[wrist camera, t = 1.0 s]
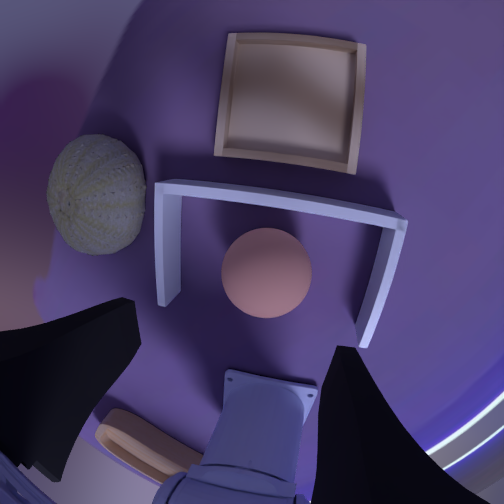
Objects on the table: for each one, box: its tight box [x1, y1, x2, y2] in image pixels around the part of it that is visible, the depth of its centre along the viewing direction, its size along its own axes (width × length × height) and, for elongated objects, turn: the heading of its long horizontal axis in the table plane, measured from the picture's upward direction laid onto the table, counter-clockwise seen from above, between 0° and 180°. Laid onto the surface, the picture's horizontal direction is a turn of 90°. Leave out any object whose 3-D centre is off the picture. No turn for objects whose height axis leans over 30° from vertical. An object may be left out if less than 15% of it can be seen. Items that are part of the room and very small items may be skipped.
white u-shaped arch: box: [154, 179, 408, 348], centre depth 16 cm, size 8×14×2 cm, turn 84°
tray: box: [214, 33, 366, 175], centre depth 13 cm, size 8×8×1 cm
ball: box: [221, 228, 312, 318], centre depth 15 cm, size 5×5×5 cm
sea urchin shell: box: [46, 134, 147, 256], centre depth 17 cm, size 9×8×8 cm
